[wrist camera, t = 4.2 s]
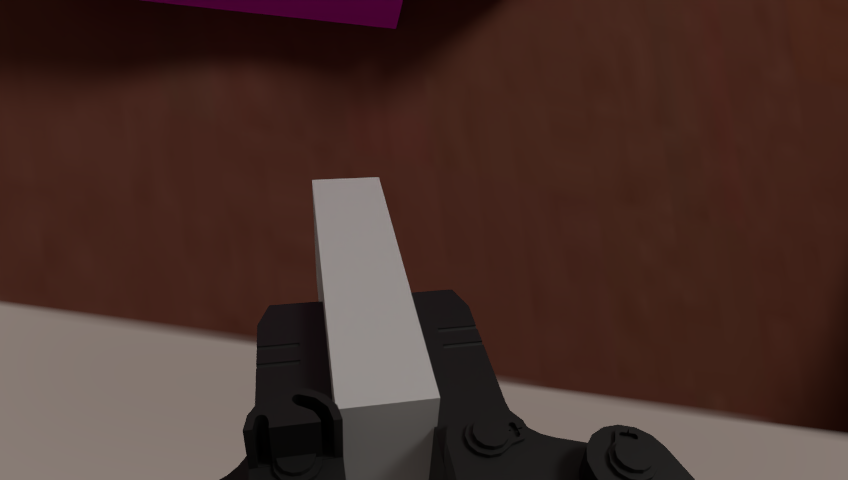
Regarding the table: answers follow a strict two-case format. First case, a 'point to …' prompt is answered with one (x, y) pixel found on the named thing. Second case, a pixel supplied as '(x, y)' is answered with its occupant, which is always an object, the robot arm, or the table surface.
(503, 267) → the table surface
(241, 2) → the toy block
